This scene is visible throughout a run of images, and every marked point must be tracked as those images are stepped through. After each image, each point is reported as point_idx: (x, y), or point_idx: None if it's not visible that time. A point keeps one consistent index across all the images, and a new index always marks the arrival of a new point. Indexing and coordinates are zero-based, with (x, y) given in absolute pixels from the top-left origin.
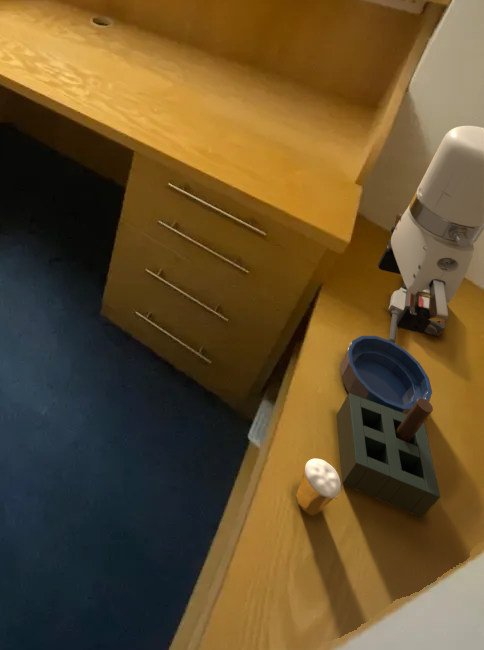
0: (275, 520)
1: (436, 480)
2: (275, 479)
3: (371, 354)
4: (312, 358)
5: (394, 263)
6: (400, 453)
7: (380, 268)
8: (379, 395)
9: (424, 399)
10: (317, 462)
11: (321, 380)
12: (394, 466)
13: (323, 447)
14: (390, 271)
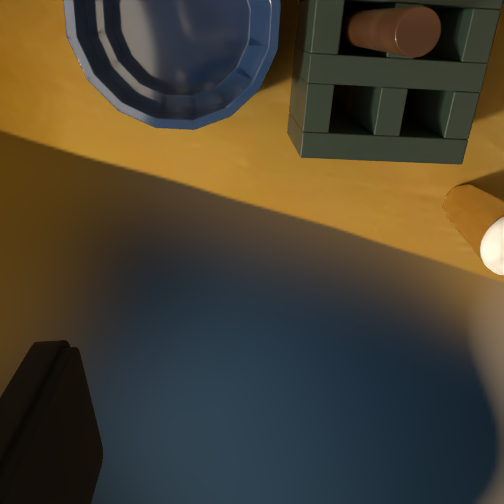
0: None
1: None
2: (436, 251)
3: (110, 37)
4: (168, 170)
5: (59, 487)
6: None
7: (99, 460)
8: (263, 64)
9: (399, 29)
10: (500, 260)
11: (216, 156)
12: (456, 78)
13: (362, 166)
14: (89, 404)
